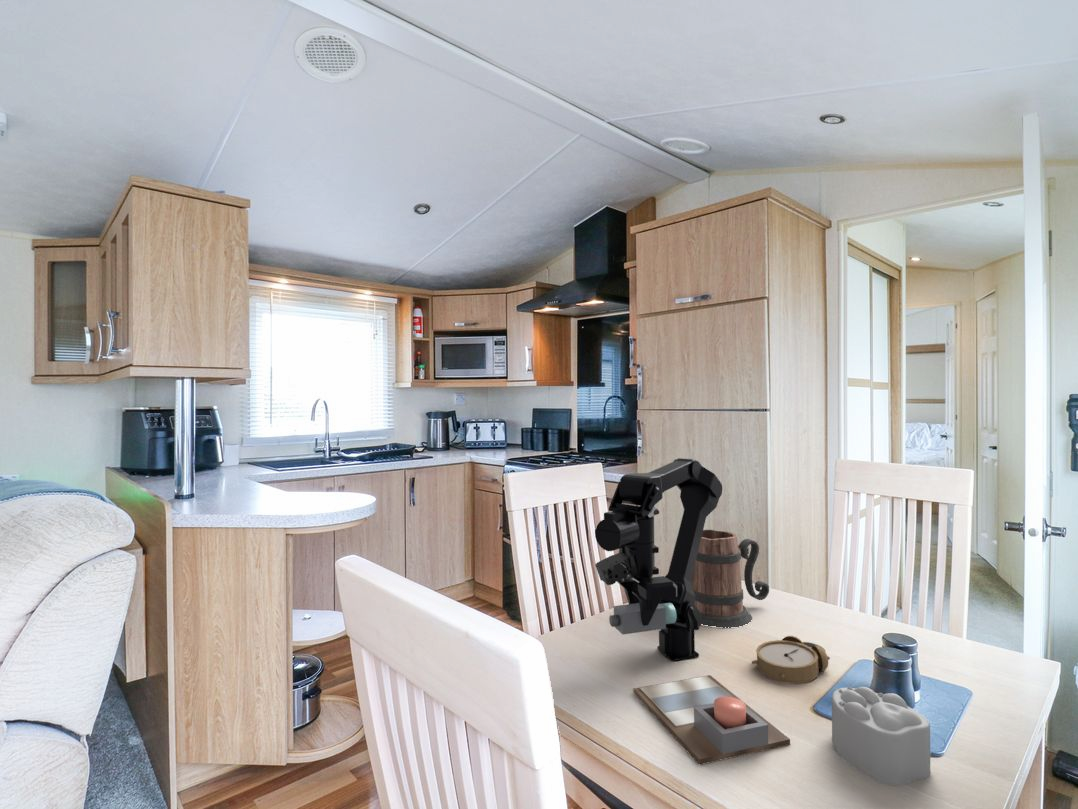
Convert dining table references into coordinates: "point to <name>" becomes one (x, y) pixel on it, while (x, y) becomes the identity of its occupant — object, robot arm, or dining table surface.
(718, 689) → the picture frame
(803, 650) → the alarm clock
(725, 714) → the button
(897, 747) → the lumpy-topped squat cylinder
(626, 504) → the robot arm
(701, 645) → the dining table surface
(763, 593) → the tankard
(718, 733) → the button housing
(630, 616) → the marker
